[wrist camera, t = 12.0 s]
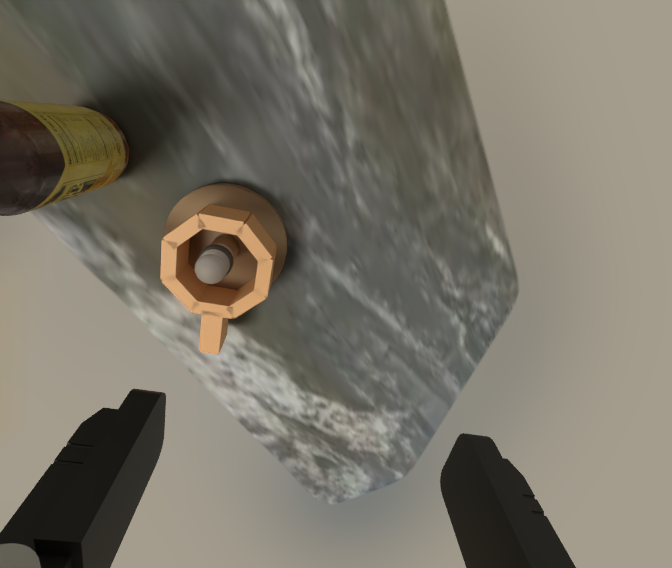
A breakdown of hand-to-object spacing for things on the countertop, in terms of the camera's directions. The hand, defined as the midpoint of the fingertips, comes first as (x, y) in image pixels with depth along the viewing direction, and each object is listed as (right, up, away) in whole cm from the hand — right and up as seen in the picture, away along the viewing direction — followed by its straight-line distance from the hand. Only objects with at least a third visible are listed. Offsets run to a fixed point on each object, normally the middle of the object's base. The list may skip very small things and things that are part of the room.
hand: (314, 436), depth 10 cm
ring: (-10, +5, +25) cm, 28 cm away
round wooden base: (-10, +8, +25) cm, 28 cm away
